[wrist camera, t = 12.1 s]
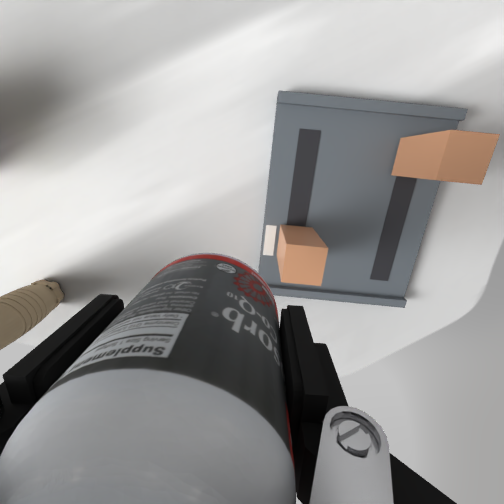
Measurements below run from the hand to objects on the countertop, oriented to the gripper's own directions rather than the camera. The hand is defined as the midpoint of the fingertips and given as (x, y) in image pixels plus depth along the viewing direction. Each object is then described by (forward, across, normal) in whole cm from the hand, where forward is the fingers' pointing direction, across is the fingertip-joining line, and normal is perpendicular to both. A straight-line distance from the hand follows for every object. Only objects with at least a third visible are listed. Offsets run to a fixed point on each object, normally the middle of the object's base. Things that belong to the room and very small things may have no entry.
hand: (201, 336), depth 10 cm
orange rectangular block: (+16, -5, +1) cm, 17 cm away
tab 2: (+16, -15, -7) cm, 23 cm away
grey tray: (+17, -10, -2) cm, 20 cm away
